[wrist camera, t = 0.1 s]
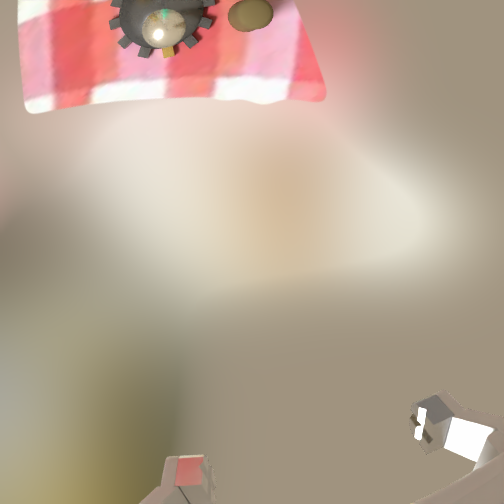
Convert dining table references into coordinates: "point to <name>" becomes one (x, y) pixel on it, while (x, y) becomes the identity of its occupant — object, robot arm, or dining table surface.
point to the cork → (250, 15)
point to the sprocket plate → (160, 23)
